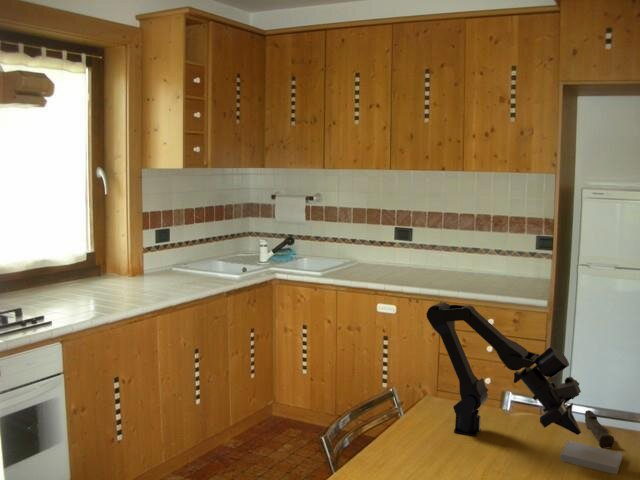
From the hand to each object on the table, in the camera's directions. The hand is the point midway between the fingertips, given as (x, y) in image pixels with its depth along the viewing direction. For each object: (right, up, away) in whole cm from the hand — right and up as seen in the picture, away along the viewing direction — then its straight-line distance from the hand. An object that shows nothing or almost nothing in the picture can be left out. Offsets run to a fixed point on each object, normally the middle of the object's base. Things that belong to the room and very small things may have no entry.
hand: (579, 433), depth 181 cm
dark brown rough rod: (+11, -5, +16) cm, 20 cm away
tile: (-3, -5, +3) cm, 7 cm away
